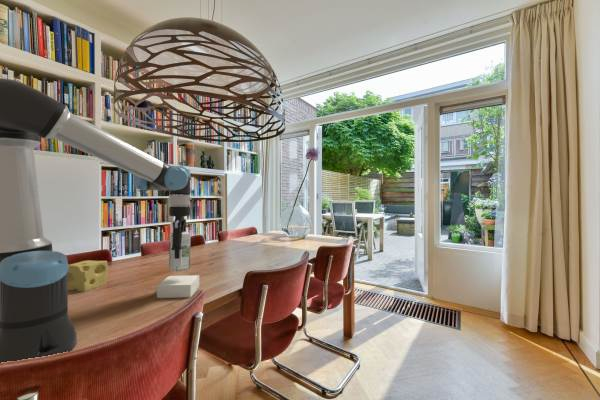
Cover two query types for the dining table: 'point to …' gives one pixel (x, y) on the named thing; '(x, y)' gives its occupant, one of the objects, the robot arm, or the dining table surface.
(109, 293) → the dining table surface
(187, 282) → the cream block
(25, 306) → the robot arm
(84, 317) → the dining table surface
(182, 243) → the syrup box
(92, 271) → the cheese
